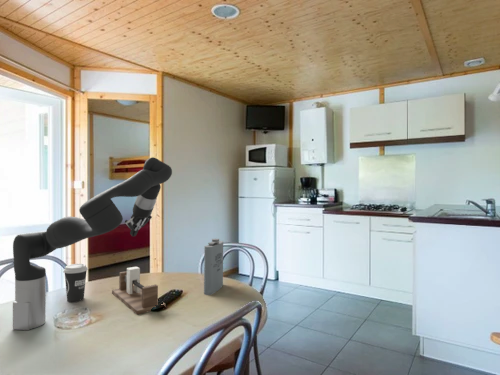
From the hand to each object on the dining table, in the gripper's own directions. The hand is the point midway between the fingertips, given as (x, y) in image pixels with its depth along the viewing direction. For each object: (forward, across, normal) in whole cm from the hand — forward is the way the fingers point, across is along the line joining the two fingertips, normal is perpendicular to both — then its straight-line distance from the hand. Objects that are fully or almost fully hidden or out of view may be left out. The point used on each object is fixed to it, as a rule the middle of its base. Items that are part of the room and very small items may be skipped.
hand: (132, 234), depth 138 cm
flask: (+19, +29, -35) cm, 49 cm away
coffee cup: (+38, -14, +5) cm, 41 cm away
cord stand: (+26, 0, -15) cm, 30 cm away
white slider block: (+28, +2, -10) cm, 30 cm away
